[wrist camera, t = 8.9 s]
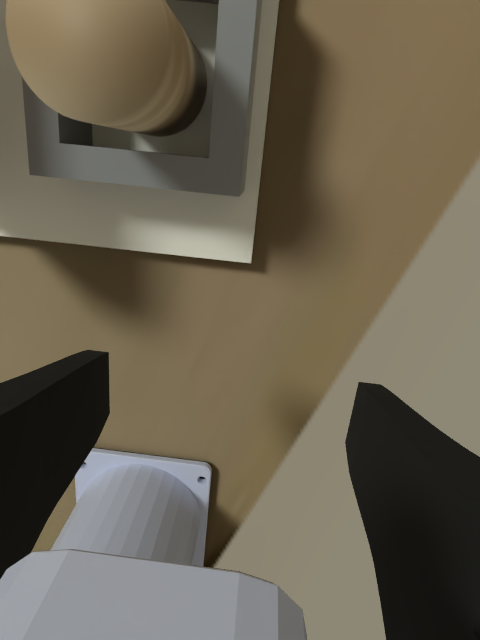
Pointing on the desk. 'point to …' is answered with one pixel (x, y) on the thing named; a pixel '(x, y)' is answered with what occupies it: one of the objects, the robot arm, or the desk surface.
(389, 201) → the desk surface
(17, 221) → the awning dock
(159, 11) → the maple peg
